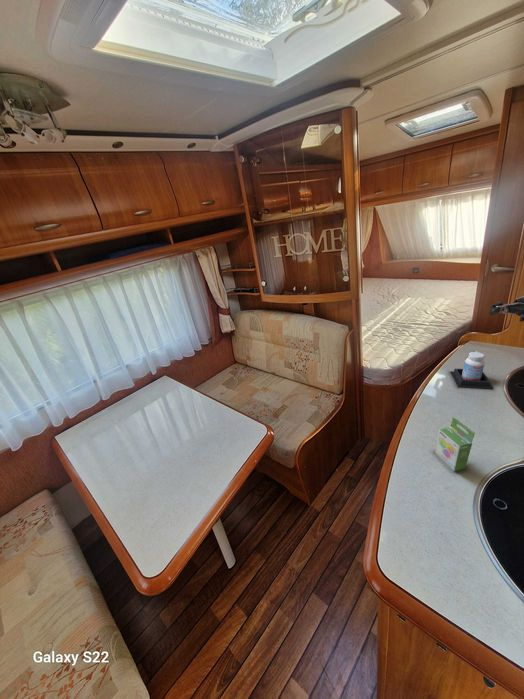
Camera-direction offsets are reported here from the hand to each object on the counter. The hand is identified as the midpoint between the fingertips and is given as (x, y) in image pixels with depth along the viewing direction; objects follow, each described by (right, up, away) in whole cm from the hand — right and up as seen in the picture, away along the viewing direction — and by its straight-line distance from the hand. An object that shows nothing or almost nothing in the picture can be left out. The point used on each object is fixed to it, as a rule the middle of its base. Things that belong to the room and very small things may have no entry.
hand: (506, 315), depth 94 cm
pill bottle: (-1, -24, +14) cm, 28 cm away
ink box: (-30, -44, -15) cm, 56 cm away
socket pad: (-1, -24, +15) cm, 28 cm away
